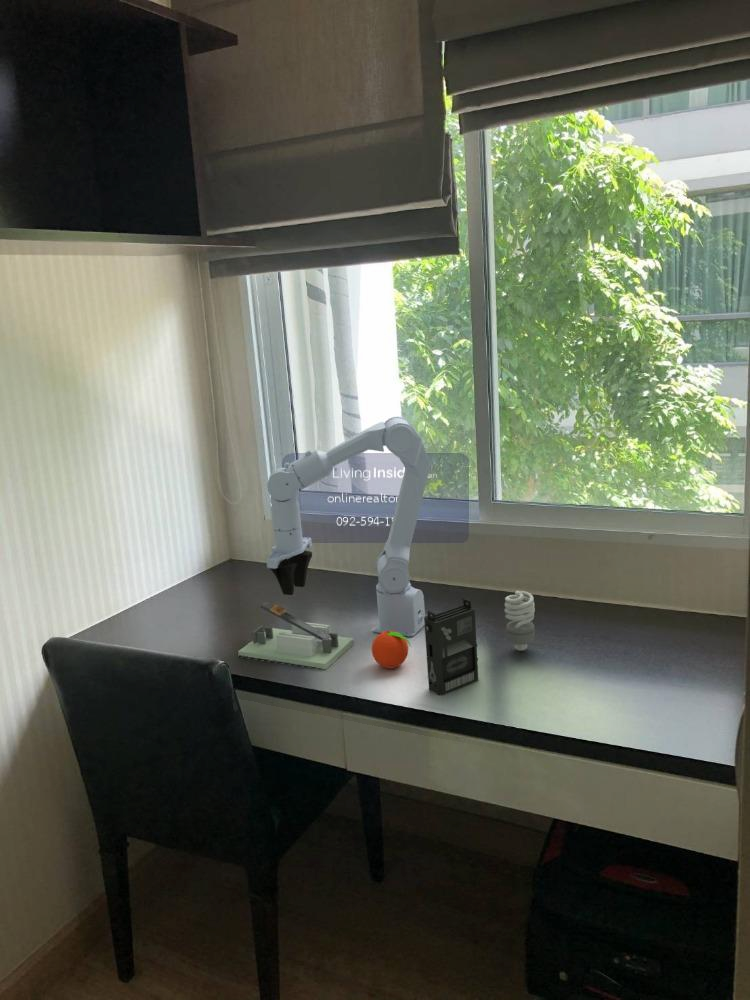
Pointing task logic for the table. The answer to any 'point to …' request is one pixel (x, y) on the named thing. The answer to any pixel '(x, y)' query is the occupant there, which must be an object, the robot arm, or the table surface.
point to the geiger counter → (451, 648)
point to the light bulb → (520, 619)
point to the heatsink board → (296, 646)
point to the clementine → (390, 649)
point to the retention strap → (295, 621)
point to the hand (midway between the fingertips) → (294, 590)
